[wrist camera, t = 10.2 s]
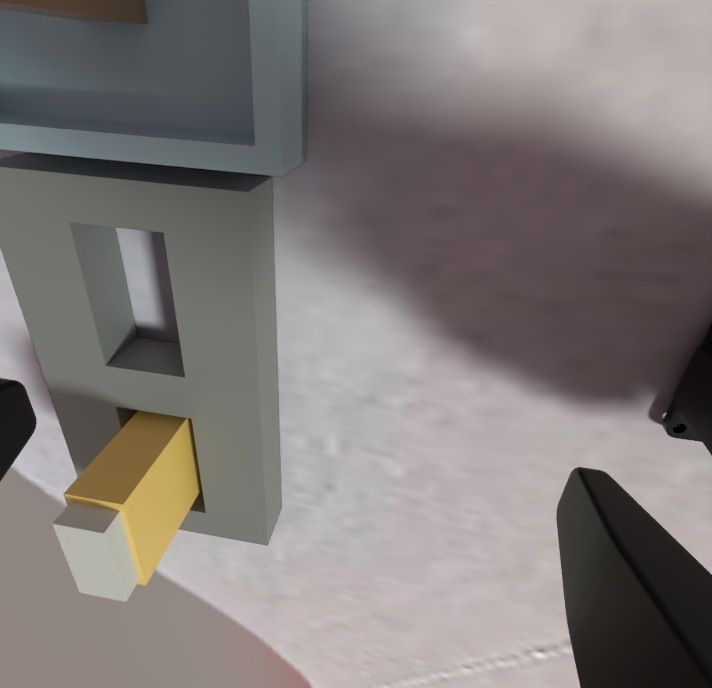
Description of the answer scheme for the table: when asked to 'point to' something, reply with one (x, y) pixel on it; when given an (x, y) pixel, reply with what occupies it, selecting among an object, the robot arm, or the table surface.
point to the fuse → (129, 504)
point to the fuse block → (192, 307)
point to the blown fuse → (83, 9)
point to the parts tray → (161, 85)
